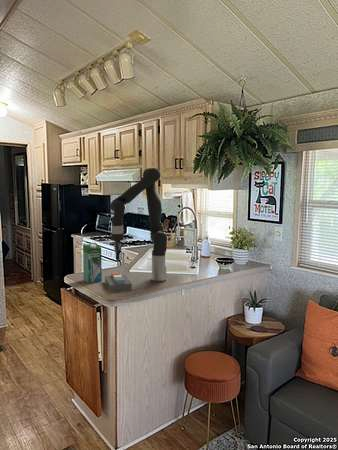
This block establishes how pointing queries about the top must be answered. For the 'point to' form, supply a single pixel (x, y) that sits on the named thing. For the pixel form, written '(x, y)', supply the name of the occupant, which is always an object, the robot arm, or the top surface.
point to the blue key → (119, 281)
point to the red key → (114, 273)
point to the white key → (116, 276)
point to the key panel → (120, 287)
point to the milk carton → (92, 263)
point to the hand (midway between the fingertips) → (117, 259)
